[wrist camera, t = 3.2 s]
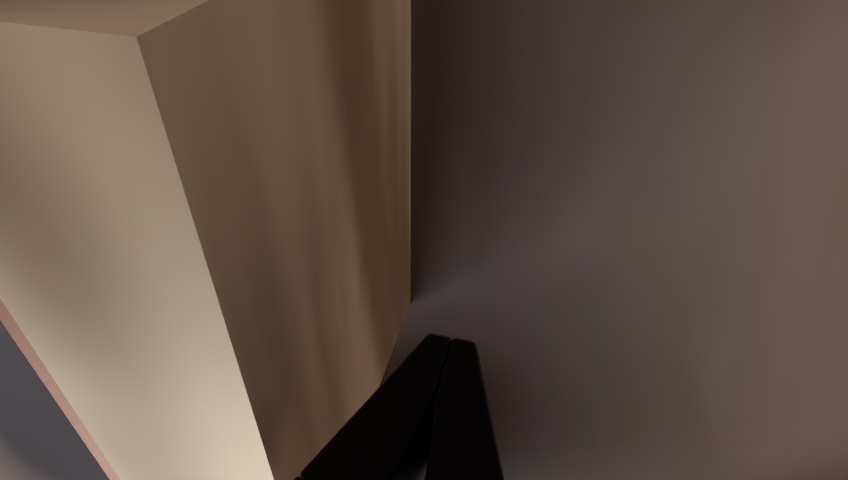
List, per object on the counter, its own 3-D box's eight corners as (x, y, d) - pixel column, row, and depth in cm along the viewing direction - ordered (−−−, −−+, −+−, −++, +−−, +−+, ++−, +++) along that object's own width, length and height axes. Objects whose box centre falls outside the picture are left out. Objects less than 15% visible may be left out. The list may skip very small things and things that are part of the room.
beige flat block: (411, -103, 11) (136, 37, 5) (410, 302, 19) (305, 581, 12) (238, -112, 12) (-221, -3, 5) (304, 281, 20) (148, 534, 13)
